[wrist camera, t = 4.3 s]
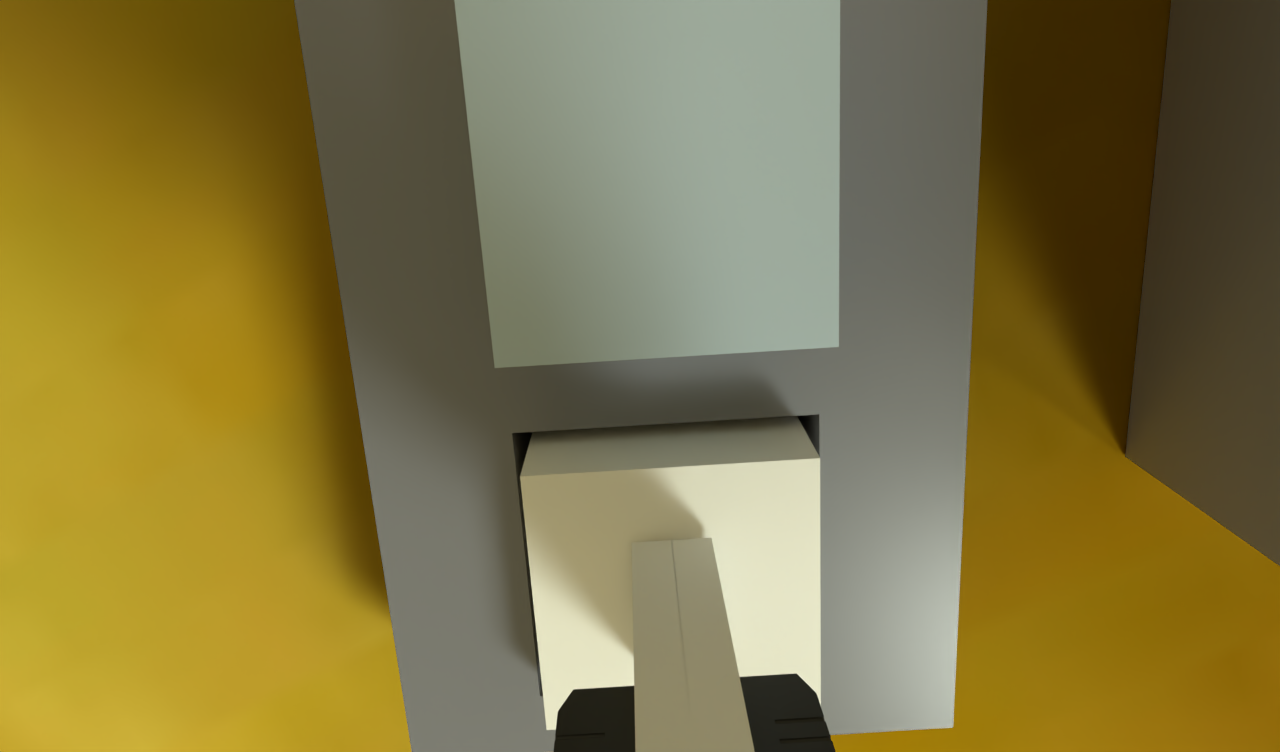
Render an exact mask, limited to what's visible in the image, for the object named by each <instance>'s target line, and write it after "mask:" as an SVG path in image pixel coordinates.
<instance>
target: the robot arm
mask: <svg viewBox="0 0 1280 752" xmlns="http://www.w3.org/2000/svg"><path fill="white" fill-rule="evenodd" d="M632 592H633V646H634V686H621V687H605V688H588V689H573V691H572V692H571V693H570V695H569V696H568V698H567V699H566V700H565V702H564V703H563V705H562V706H561V708H560V709H559V710H558V714H557V724H556V733H555V742H554V752H835V749H834V745H833V742H832V741H831V738H830V733H829V730H828V727H827V724H826V721H824V715H823V712H822V709H821V706H820V703H819V699H818V696H817V693H816V692H815V691H814V690H813V689H812V688H811V687H810V686H809V685H808V684H807V683H806V682H805V681H804V680H803V679H802V678H801V677H800V676H799V675H798V674H797V673H796V674H779V675H763V676H747V677H739V672H738V667H737V662H736V657H735V652H734V647H733V642H732V637H731V632H730V627H729V622H728V617H727V612H726V607H725V602H724V598H723V593H722V588H721V583H720V578H719V573H718V568H717V563H716V558H715V553H714V548H713V543H712V538H698V539H682V540H665V541H649V542H633V543H632Z"/></svg>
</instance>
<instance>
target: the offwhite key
mask: <svg viewBox="0 0 1280 752" xmlns="http://www.w3.org/2000/svg"><path fill="white" fill-rule="evenodd" d="M520 481H521V491H522V500H523V510H524V519H525V529H526V538H527V548H528V557H529V567H530V576H531V586H532V595H533V605H534V614H535V624H536V633H537V643H538V653H539V662H540V672H541V681H542V691H543V700H544V710H545V719H546V729H547V730H556V724H557V714H558V710H559V709H560V708H561V706H562V705H563V703H564V702H565V700H566V699H567V698H568V696H569V695H570V693H571V692H572V691H573V689H588V688H605V687H621V686H634V646H633V592H632V543H633V542H649V541H665V540H682V539H698V538H712V543H713V548H714V553H715V558H716V563H717V568H718V573H719V578H720V583H721V588H722V593H723V598H724V602H725V607H726V612H727V617H728V622H729V627H730V632H731V637H732V642H733V647H734V652H735V657H736V662H737V667H738V672H739V677H747V676H763V675H779V674H796V673H797V674H798V675H799V676H800V677H801V678H802V679H803V680H804V681H805V682H806V683H807V684H808V685H809V686H810V687H811V688H812V689H813V690H814V691H815V692H816V693H817V696H818V699H819V703H820V706H821V588H820V457H819V455H818V453H817V451H816V450H815V448H814V446H813V444H812V442H811V440H810V439H809V437H808V435H807V433H806V431H805V430H804V428H803V426H802V424H801V422H800V420H799V419H798V417H797V416H783V417H767V418H751V419H734V420H718V421H702V422H685V423H669V424H653V425H636V426H620V427H603V428H587V429H571V430H554V431H538V432H532V436H531V439H530V443H529V446H528V450H527V453H526V457H525V461H524V464H523V468H522V471H521V475H520Z"/></svg>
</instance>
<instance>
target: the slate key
mask: <svg viewBox="0 0 1280 752" xmlns="http://www.w3.org/2000/svg"><path fill="white" fill-rule="evenodd" d="M454 1H455V10H456V20H457V29H458V38H459V47H460V56H461V65H462V74H463V83H464V93H465V102H466V111H467V120H468V129H469V138H470V147H471V157H472V166H473V175H474V184H475V193H476V202H477V211H478V220H479V230H480V239H481V248H482V257H483V266H484V275H485V284H486V293H487V303H488V312H489V321H490V330H491V339H492V348H493V357H494V366H495V368H503V367H520V366H536V365H552V364H569V363H585V362H601V361H618V360H634V359H650V358H667V357H683V356H699V355H715V354H732V353H748V352H764V351H781V350H797V349H813V348H830V347H839V172H840V0H454Z"/></svg>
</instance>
